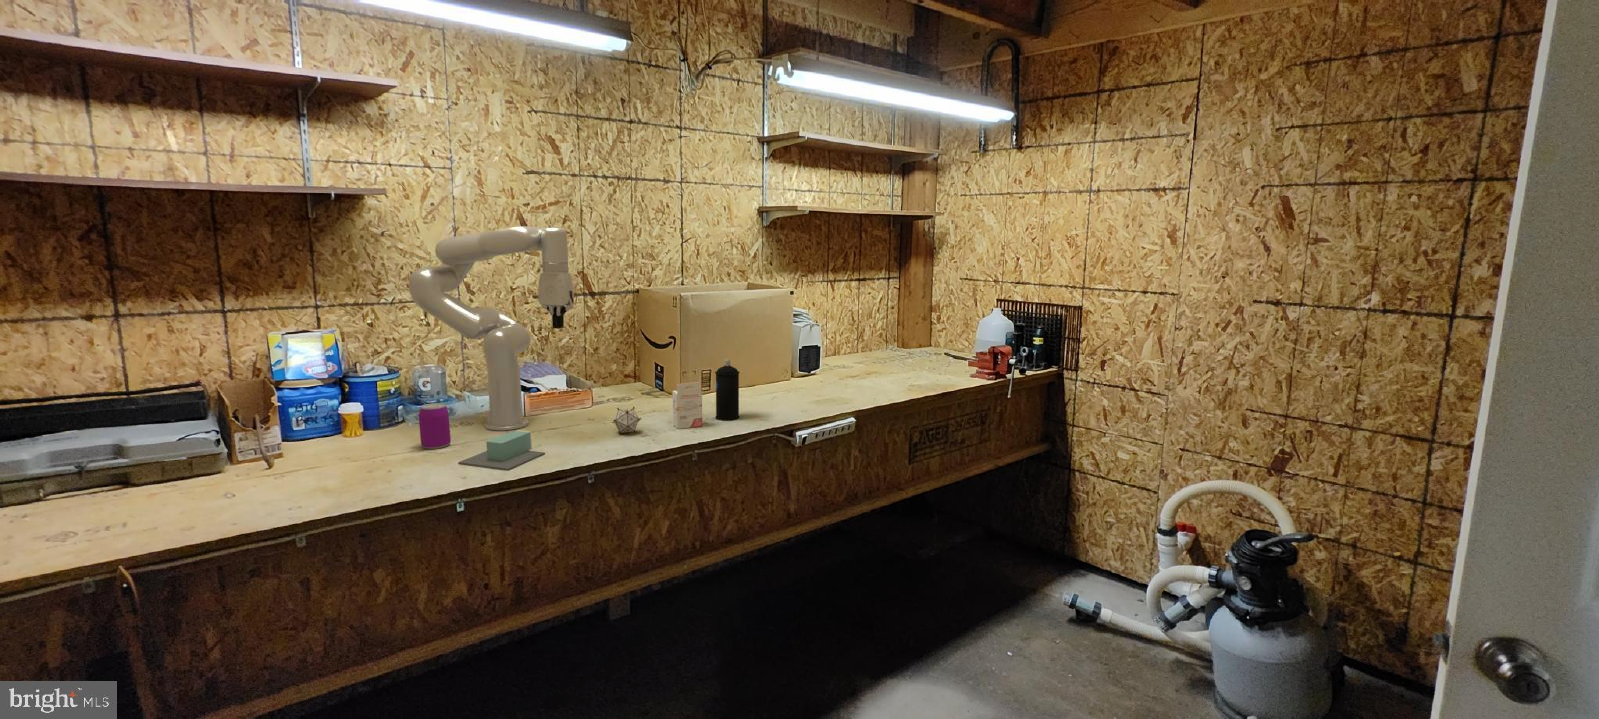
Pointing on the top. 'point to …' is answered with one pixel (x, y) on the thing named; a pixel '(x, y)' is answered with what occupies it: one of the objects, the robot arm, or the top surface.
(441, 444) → the beverage can
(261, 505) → the top surface
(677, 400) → the ink cartridge box
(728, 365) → the aerosol can
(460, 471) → the top surface
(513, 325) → the robot arm
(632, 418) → the game die
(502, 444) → the teal block
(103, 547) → the top surface
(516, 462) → the mat
